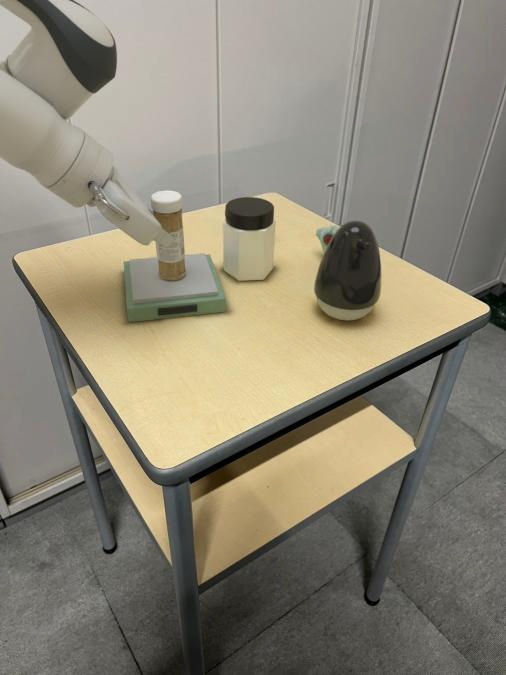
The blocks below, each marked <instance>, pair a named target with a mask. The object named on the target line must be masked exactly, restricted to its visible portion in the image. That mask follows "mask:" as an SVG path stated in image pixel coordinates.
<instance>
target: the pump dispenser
mask: <svg viewBox="0 0 506 675" xmlns="http://www.w3.org/2000/svg"><path fill="white" fill-rule="evenodd" d="M381 261H382V260H381V253H380V248H379V243H378V240H377V237H376V234H375V233H374V230H373V228H371V226H370V225H369V224H368V223H366V222H364V221H362V220H349V221H347V222H345V223H343V224H342V225H341V226H340V227H339V229H338V230H337V231H336V233H335V234H334V235H333V237H332V239H331V240H330V242H329V244H328V246H327V248H326V250H325V252H323V255H322V257H321V260H320V262H319V265H318V269H317V272H316V275H315V280H314V283H313V292H314V295H315V296H316V301H317V304H318V306H319V308H320V309H321V310H322V311H323V312H324V313H325V314H326V315H328V316H329V317H331V318H333V319H336V320H341V321H356V320H359V319H362V318H364V317H365V316H367V315H368V314H369V313H370V312H371V311H372V310H373V308H374V307H375V306H376V304H377V303H378V302H379V301H380V298H381V293H382V262H381Z"/></svg>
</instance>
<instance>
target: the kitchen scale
mask: <svg viewBox="0 0 506 675" xmlns="http://www.w3.org/2000/svg"><path fill="white" fill-rule="evenodd" d="M185 269H186V275H185V276H184V277H183V278H181V279H178V280H174V281H170V280H165V279H162V278H161V277H160V276H159V274H158V271H159V267H158V258H157V256H155V257H145V258H132V259H129V260H126V261H123V272H124V273H123V274H124V286H125V300H126V301H125V302H126V303H125V304H126V312H127V319H128V320H127V321H128V323H135V322H142V321H143V322H144V321H153V320H163V319H173V318H180V317H181V318H182V317H190V316H199V315H209V314H219V313H226V311H227V310H226V309H227V308H226V306H227V302H226V296H225V293H224V289H223V288H222V284H221V282H220V279H219V275H218V274H217V270H216V267H215V264H214V261H213V259H212V256H211V254H209V253H205V252H204V253H192V254H191V253H190V254H185Z"/></svg>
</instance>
